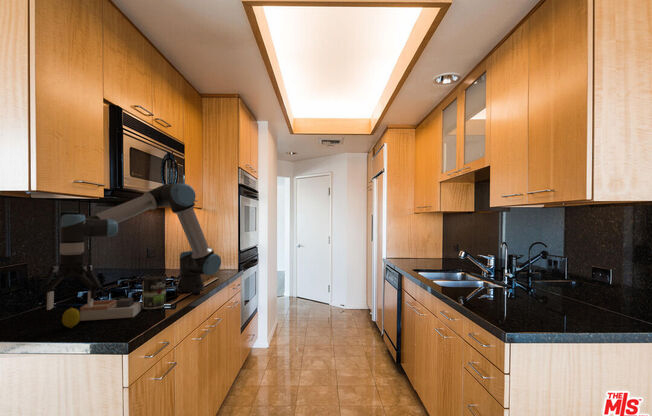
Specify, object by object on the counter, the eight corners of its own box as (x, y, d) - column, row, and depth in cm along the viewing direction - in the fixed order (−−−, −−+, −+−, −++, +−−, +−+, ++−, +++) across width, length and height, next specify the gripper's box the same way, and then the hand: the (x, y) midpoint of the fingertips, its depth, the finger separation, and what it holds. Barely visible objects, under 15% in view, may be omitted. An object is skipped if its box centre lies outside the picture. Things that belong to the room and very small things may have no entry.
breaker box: (141, 310, 147) (141, 298, 148) (133, 317, 138) (133, 304, 138) (91, 313, 143) (92, 301, 143) (80, 320, 133) (80, 307, 133)
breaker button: (133, 311, 144) (133, 297, 145) (129, 314, 140) (129, 300, 140) (120, 311, 143) (120, 298, 143) (116, 315, 138) (116, 301, 139)
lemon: (75, 330, 122) (75, 309, 123) (58, 331, 121) (58, 310, 121) (82, 325, 128) (83, 305, 128) (67, 326, 127) (67, 306, 127)
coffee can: (170, 305, 155) (170, 276, 155) (148, 310, 147) (148, 280, 147) (160, 302, 161) (160, 274, 162) (138, 306, 153) (138, 277, 153)
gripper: (111, 251, 132) (110, 303, 131) (41, 253, 126) (39, 306, 125) (103, 253, 124) (102, 308, 124) (28, 255, 119) (26, 312, 118)
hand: (70, 307), depth 124 cm, fingers open, 13 cm apart
